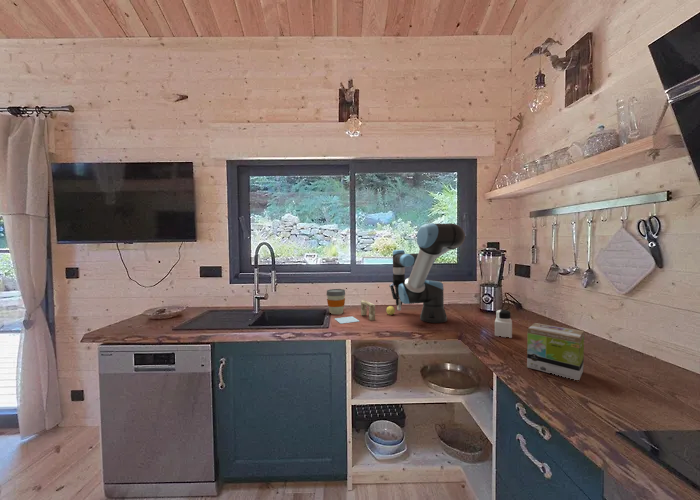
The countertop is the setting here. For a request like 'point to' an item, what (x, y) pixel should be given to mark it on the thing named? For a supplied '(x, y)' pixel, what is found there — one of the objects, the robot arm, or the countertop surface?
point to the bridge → (371, 309)
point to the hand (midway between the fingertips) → (399, 309)
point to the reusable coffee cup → (336, 300)
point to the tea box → (555, 350)
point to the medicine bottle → (503, 324)
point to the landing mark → (346, 320)
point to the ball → (390, 310)
